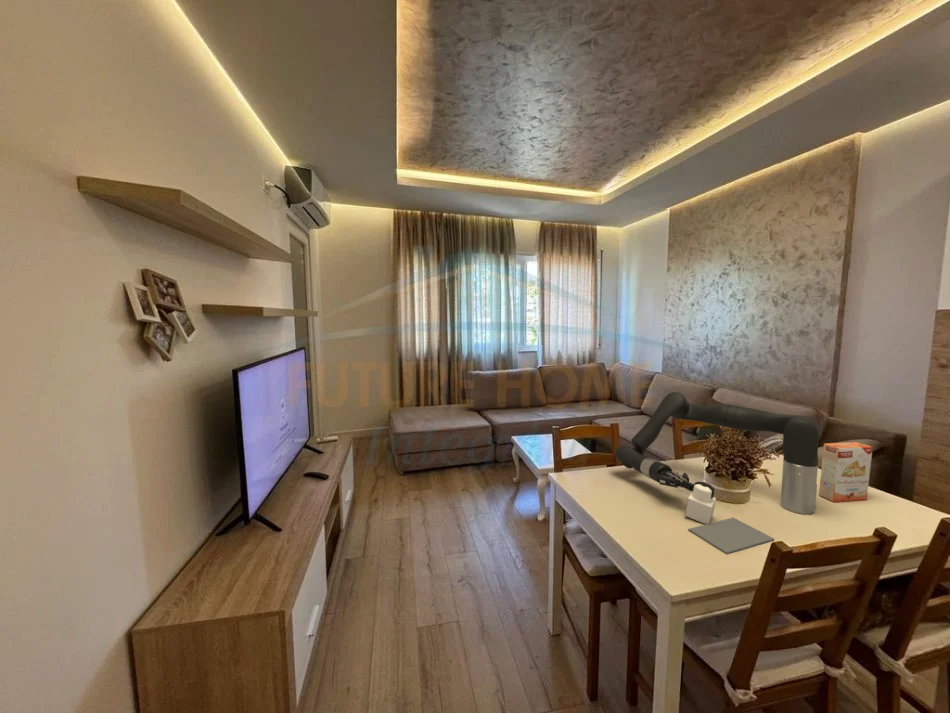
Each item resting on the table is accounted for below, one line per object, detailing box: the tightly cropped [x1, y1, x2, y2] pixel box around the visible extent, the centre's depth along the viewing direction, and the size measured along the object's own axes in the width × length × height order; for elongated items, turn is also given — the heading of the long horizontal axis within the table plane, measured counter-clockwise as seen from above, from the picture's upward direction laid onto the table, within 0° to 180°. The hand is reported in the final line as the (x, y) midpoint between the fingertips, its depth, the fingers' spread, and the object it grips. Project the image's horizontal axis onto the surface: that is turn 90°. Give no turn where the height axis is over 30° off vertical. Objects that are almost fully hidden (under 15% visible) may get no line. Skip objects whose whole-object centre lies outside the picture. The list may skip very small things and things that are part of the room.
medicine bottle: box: [684, 481, 717, 525], centre depth 126 cm, size 7×7×12 cm
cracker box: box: [818, 441, 874, 503], centre depth 138 cm, size 14×6×21 cm, turn 95°
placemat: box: [688, 517, 775, 555], centre depth 117 cm, size 20×13×1 cm, turn 108°
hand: (693, 488), depth 129 cm, fingers closed
